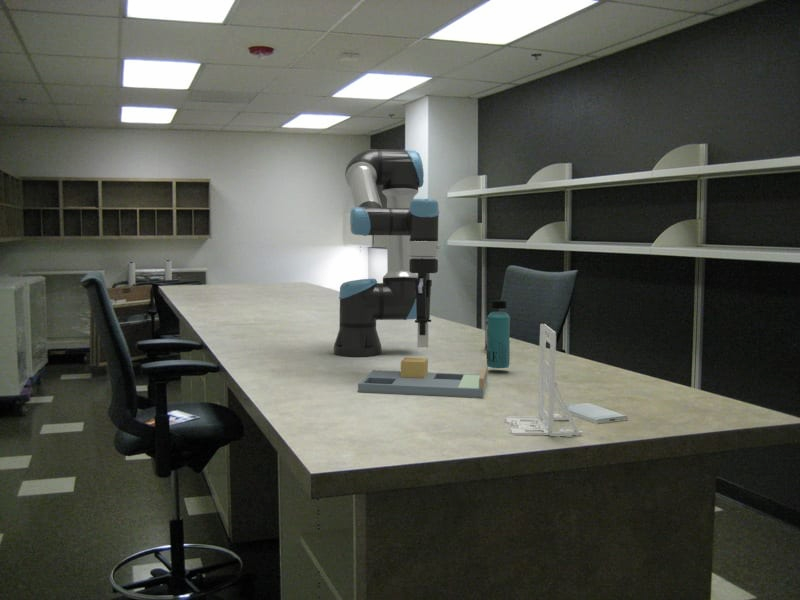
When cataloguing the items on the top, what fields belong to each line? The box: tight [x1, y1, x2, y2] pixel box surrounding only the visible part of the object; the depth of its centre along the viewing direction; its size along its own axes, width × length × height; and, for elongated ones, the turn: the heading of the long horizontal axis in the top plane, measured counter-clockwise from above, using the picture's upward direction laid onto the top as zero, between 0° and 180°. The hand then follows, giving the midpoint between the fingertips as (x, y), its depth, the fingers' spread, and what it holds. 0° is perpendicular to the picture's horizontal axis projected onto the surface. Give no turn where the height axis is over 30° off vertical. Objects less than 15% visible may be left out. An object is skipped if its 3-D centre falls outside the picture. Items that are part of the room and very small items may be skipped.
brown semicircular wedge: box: [484, 318, 488, 353], centre depth 242 cm, size 12×6×10 cm, turn 179°
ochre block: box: [400, 357, 429, 378], centre depth 191 cm, size 6×6×4 cm
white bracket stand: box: [503, 323, 584, 438], centre depth 148 cm, size 14×14×20 cm
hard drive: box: [558, 402, 629, 424], centre depth 159 cm, size 2×8×12 cm
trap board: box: [357, 364, 489, 399], centre depth 186 cm, size 30×18×4 cm, turn 80°
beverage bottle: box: [486, 299, 511, 369], centre depth 207 cm, size 6×7×20 cm
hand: (422, 346), depth 198 cm, fingers closed
